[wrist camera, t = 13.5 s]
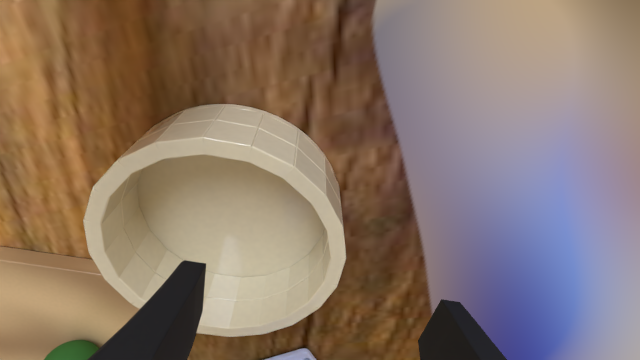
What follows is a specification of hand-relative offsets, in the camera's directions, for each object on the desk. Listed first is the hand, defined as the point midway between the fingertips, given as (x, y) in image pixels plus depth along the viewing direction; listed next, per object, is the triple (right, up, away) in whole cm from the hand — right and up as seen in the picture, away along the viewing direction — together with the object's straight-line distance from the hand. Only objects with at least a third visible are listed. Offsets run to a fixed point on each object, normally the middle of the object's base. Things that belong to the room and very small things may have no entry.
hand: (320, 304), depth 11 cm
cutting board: (-19, -10, +18) cm, 27 cm away
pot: (-5, +2, +11) cm, 12 cm away
